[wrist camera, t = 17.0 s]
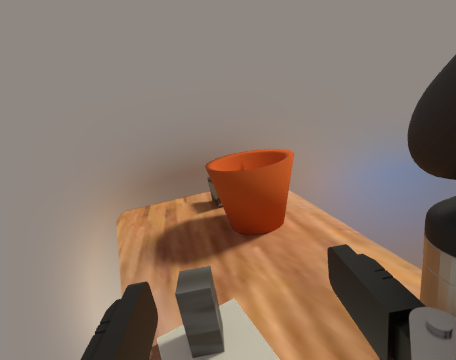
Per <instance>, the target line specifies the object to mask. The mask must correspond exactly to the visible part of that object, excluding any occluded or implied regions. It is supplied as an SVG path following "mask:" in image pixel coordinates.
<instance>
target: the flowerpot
mask: <svg viewBox="0 0 456 360" xmlns="http://www.w3.org/2000/svg"><path fill="white" fill-rule="evenodd" d="M293 157H294V153H293V152H292V151H290V150H284V149H264V150H263V149H262V150H253V151H246V152H240V153H235V154H231V155H227V156H223V157H220V158H217V159H215V160H212V161H210V162H209V163H207V164H206V166H205V167H206V169H207V172H208V174H209V176H210V178H211V181H212V183H213V185H214V187H215V190H216V192H217V194H218V196H219V199H220V201H221V203H222V205H223V208H224V210H225V212H226V214H227V217H228V219H229V221H230V223H231V226H232V228H233V229H234V230H235V231H237V232H239V233H242V234H248V235H257V234H264V233H268V232H271V231H274V230H276V229H278V228H279V227H280V226H281V225H282V224H283V223H284V218H285V211H286V204H287V198H288V191H289V184H290V177H291V170H292V164H293Z"/></svg>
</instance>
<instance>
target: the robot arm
mask: <svg viewBox="0 0 456 360" xmlns="http://www.w3.org/2000/svg"><path fill="white" fill-rule="evenodd" d="M408 147H409V151H410V154H411V156H412V158H413V159H414V161H415V163H416V164H417V165H418V166H419V167H420V168H421V169H423V170H424V171H426V172H427V173H429V174H432V175H434V176H436V177H441V178H447V179H454V180H456V55H455V56H454V57H453V58H452V59H451V60H450V62H449V63H448V64H447V65H446V66H445V67H444V68H443V70H442V71H441V72H440V73H439V74H438V75H437V76H436V78H435V79H434V80H433V81H432V83H431V84H430V85H429V86H428V88H427V89H426V91H425V92H424V93H423V95H422V97H421V98H420V100H419V101H418V103H417V106H416V108H415V110H414V112H413V114H412V118H411V121H410V124H409V129H408ZM328 269H329V280H330V284H331V286H332V289H333V291H334V292H335V294H336V295H337V297H338V298H339V300H340V301H341V303H342V304H343V305H344V307H345V308H346V310H347V311H348V313H349V314H350V316H351V317H352V319H353V320H354V322H355V323H356V324H357V326H358V327H359V329H360V330H361V332H362V333H363V335H364V336H365V338H366V339H367V341H368V342H369V343H370V345H371V346H372V348H373V349H374V351H375V352H376V354H377V355H378V357H379V358H380V360H456V196H455V197H452V198H450V199H446V200H443V201H441V202H439V203H437V204H435V205H434V206H432V207H431V208H430V209H429V210H428V212H427V214H426V219H425V234H424V247H423V264H422V278H421V292H420V300H419V299H417V298H416V297H415V296H414V295H413V294H412V293H411V292H410V291H409V290H408V289H406V288H405V287H404V286H403V285H402V284H401V283H400V282H399V281H398V280H397V279H395V278H393V276H392V275H391V274H390V273H389V272H388V271H387V270H386V271H385V269H384V268H383V267H382V266H381V265H380V264H379V263H378V262H377V261H376V260H374V259H372V258H370V257H368V256H366V255H364V254H358V255H357V254H356V253H355V252H354V251H353V250H352V249H351V248H350V247H349V246H348V245H346V244H345V245H340V246H334V247H329V248H328ZM157 323H158V313H157V308H156V305H155V302H154V299H153V296H152V292H151V289H150V286H149V284H148V282H141V283H136V284H131V285H128V286H127V288H126V290H125V292H124V294H123V296H122V298H121V299H119V300H116V301H115V302H114V303H113V304H112V305H111V306H110V307H109V308H108V309H107V311H106V312H105V314H104V316H103V318H102V320H101V322H100V325H99V326H98V328H97V329H96V331H95V335H94V336H93V337H92V339H91V341H90V343H89V345H88V347H87V348H86V350H85V352H84V354H83V356H82V358H81V360H149V356H150V352H151V348H152V344H153V340H154V336H155V332H156V328H157Z"/></svg>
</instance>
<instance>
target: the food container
mask: <svg viewBox="0 0 456 360" xmlns="http://www.w3.org/2000/svg"><path fill="white" fill-rule="evenodd" d="M208 182H209V187H210V191H211V196H212V201H213V202H214V203H215V204H216V205H217V206H218V207H219V208H221V207H223V205H222V203H221V201H220V199H219V196H218V194H217V192H216V190H215V187H214V185H213V183H212V181H211V178H210V177H208Z"/></svg>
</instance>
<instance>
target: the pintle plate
mask: <svg viewBox="0 0 456 360" xmlns="http://www.w3.org/2000/svg"><path fill="white" fill-rule="evenodd" d="M219 309H220V313H221V318H222V323H223V334H224V349H225V352H221V353H216V354H211V355H206V356H201V357H196V358H192V354H191V350H190V347H189V343H188V339H187V336H186V332H185V328H184V325H182V326H180V327H178V328H176V329H174V330H172V331H170V332H168V333H166V334H164V335H162V336H160V337H158V338H157V342H158V347H159V351H160V356H161V360H280V359H279V358H278V357H277V355H276V354H275V353H274V351H273V350H272V348H271V347H270V346H269V344H268V343H267V342H266V340H265V339H264V338H263V336H262V335H261V334H260V332H259V331H258V330H257V328H256V327H255V326H254V324H253V323H252V322H251V320H250V319H249V318H248V316H247V315H246V314H245V312H244V311H243V310H242V308H241V307H240V306H239V304H238V303H237V302H236V300H235V299H232V300H230V301H228V302H226V303H224V304H222V305H220V306H219Z"/></svg>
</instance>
